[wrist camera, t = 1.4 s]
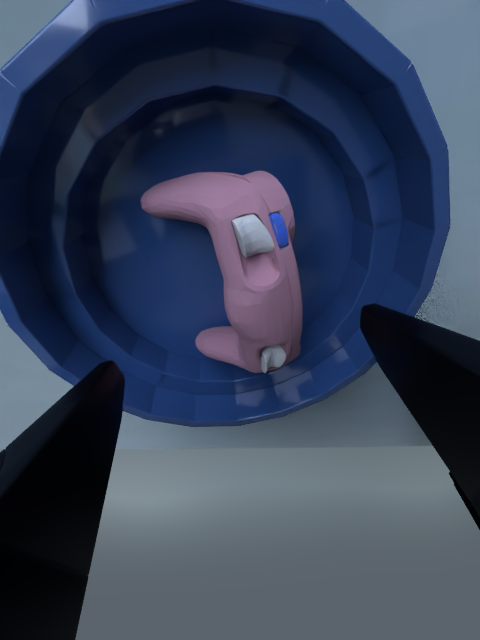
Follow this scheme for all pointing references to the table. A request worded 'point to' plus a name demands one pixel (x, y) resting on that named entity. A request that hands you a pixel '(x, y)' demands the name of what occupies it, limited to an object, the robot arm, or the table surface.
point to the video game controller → (243, 262)
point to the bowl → (211, 156)
